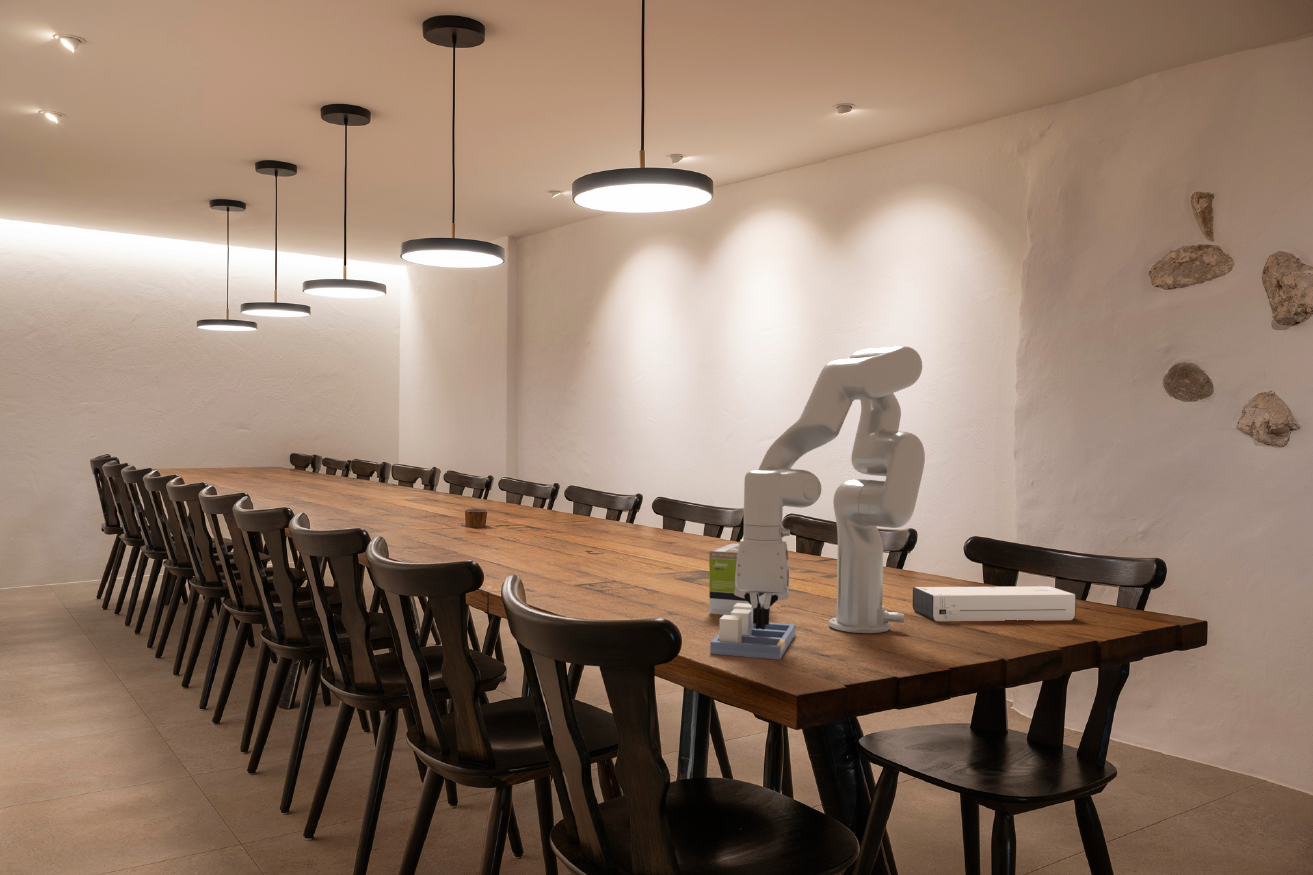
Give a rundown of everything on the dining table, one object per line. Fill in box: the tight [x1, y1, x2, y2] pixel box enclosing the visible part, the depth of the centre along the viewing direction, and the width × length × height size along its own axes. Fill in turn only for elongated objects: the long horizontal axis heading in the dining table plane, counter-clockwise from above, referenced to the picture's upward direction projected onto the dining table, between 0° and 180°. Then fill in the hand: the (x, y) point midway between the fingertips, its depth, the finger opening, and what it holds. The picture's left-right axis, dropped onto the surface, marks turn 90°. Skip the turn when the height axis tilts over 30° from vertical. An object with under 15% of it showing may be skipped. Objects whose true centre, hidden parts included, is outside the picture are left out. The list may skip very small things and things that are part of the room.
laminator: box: [912, 585, 1077, 622], centre depth 208 cm, size 34×12×6 cm, turn 96°
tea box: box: [708, 543, 765, 616], centre depth 210 cm, size 15×10×15 cm
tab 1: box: [718, 615, 742, 643], centre depth 171 cm, size 4×4×5 cm
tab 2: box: [733, 603, 754, 628], centre depth 183 cm, size 4×4×5 cm
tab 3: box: [731, 609, 752, 635], centre depth 177 cm, size 4×4×5 cm
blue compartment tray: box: [709, 622, 796, 661], centre depth 176 cm, size 13×21×2 cm, turn 164°
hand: (761, 627), depth 176 cm, fingers closed
